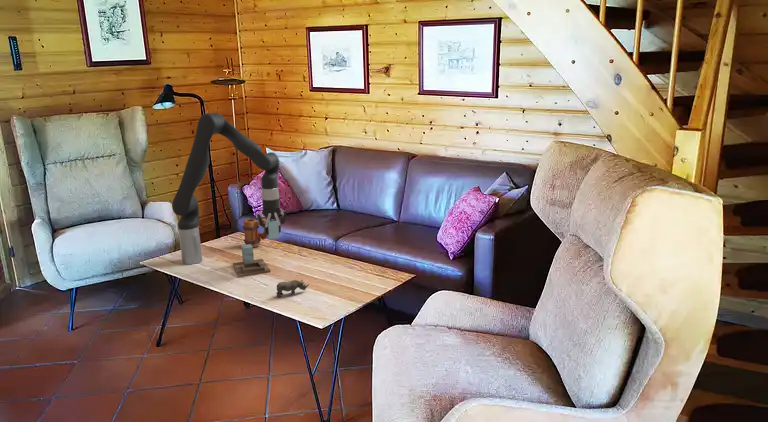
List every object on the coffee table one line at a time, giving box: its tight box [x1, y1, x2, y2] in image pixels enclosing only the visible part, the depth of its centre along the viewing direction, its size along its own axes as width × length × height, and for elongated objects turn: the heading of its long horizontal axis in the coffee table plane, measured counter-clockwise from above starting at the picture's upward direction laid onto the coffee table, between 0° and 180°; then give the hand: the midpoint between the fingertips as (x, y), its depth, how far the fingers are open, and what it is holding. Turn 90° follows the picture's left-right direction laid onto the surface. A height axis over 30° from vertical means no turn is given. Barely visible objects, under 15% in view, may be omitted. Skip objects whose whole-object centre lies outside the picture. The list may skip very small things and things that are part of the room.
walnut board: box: [232, 244, 271, 278], centre depth 264 cm, size 18×14×9 cm
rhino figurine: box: [275, 279, 310, 298], centre depth 234 cm, size 4×14×6 cm, turn 111°
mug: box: [242, 217, 268, 248], centre depth 295 cm, size 15×8×15 cm, turn 81°
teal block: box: [266, 219, 280, 240], centre depth 261 cm, size 4×4×8 cm
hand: (272, 233), depth 261 cm, fingers closed on teal block, 4 cm apart
